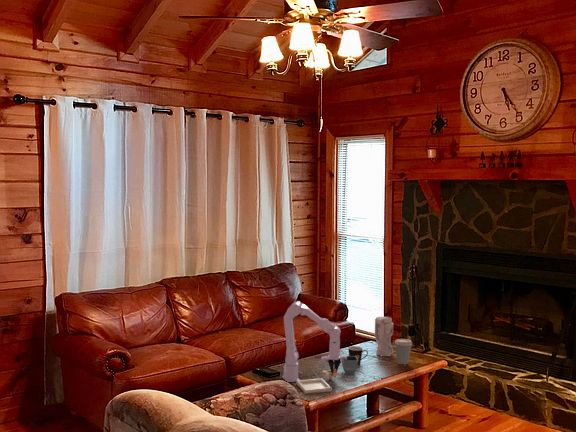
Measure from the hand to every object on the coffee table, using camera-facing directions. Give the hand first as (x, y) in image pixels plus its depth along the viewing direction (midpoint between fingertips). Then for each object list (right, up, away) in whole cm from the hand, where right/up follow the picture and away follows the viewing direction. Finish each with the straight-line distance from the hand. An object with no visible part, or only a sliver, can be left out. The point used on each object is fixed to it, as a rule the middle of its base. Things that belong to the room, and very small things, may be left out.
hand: (333, 372), depth 341 cm
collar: (-1, -2, +3) cm, 4 cm away
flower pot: (+10, -5, +17) cm, 21 cm away
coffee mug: (+17, -4, +33) cm, 37 cm away
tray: (-11, -6, -7) cm, 15 cm away
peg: (-2, -6, +5) cm, 8 cm away
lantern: (+36, -2, +54) cm, 64 cm away
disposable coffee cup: (+45, -4, +37) cm, 58 cm away
